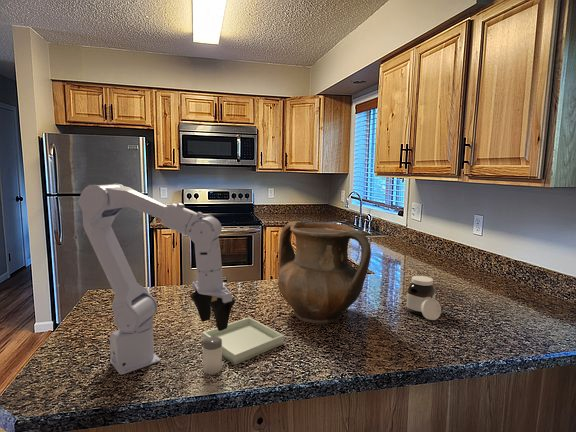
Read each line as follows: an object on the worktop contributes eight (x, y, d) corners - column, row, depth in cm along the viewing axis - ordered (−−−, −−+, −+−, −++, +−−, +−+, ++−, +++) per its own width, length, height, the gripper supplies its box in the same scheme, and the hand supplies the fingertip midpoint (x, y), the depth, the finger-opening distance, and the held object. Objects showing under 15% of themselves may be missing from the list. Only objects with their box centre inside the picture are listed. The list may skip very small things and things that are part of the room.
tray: (235, 364, 87) (234, 355, 86) (202, 340, 99) (202, 332, 98) (283, 344, 98) (284, 335, 97) (249, 324, 109) (249, 317, 109)
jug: (257, 322, 111) (257, 227, 107) (288, 293, 137) (289, 216, 133) (362, 340, 100) (367, 236, 96) (374, 305, 126) (378, 222, 122)
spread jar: (416, 304, 128) (418, 273, 127) (448, 313, 120) (450, 280, 119) (399, 313, 120) (401, 280, 118) (432, 324, 112) (435, 288, 110)
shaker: (209, 376, 82) (208, 347, 81) (199, 368, 85) (199, 340, 84) (225, 369, 85) (225, 341, 84) (215, 361, 88) (215, 335, 87)
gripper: (241, 270, 80) (245, 327, 82) (208, 260, 91) (212, 311, 92) (214, 277, 75) (219, 338, 77) (182, 266, 86) (187, 320, 88)
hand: (213, 324), depth 84 cm, fingers open, 7 cm apart
